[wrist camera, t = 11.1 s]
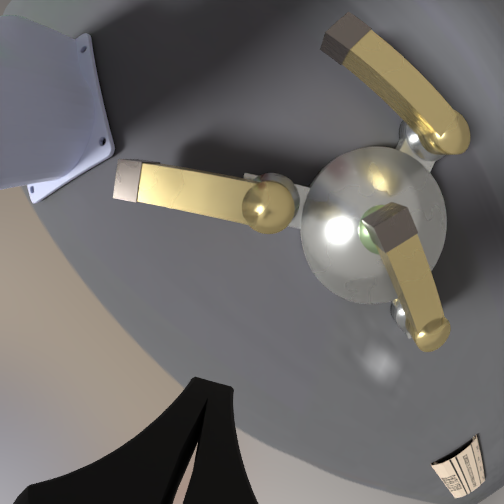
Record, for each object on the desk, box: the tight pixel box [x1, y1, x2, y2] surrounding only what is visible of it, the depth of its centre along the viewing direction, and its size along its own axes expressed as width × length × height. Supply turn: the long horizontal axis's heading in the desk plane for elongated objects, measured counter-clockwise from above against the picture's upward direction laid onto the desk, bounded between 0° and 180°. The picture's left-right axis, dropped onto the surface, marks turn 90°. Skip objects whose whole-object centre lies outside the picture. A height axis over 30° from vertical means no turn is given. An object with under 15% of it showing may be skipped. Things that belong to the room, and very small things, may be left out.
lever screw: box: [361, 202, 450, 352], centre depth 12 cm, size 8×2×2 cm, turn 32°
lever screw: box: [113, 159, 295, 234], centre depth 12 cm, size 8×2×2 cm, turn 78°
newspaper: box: [431, 436, 485, 498], centre depth 21 cm, size 24×7×2 cm, turn 39°
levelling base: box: [243, 120, 447, 338], centre depth 13 cm, size 13×12×1 cm
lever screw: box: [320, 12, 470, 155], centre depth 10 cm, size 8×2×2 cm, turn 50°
